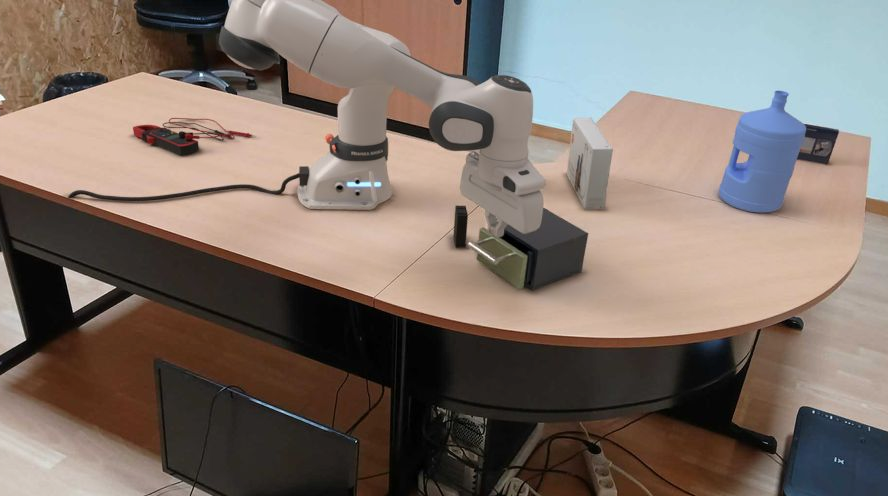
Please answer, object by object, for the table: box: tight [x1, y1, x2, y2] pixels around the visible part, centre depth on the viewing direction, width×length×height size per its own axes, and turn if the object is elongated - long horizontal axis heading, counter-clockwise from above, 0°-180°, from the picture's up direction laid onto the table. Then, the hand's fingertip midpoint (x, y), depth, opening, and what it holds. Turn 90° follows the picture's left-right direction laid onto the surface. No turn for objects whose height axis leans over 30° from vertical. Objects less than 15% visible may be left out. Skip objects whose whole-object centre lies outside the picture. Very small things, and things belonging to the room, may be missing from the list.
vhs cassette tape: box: [797, 123, 840, 165], centre depth 213 cm, size 18×3×10 cm, turn 68°
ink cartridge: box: [452, 204, 469, 248], centre depth 157 cm, size 5×2×8 cm, turn 5°
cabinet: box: [496, 207, 589, 291], centre depth 150 cm, size 14×15×9 cm
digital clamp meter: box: [132, 117, 257, 157], centre depth 199 cm, size 23×4×25 cm
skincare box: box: [566, 116, 614, 211], centre depth 182 cm, size 21×5×16 cm, turn 5°
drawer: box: [467, 227, 535, 290], centre depth 147 cm, size 17×13×7 cm
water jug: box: [718, 90, 806, 214], centre depth 180 cm, size 16×16×28 cm
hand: (495, 233), depth 141 cm, fingers closed
